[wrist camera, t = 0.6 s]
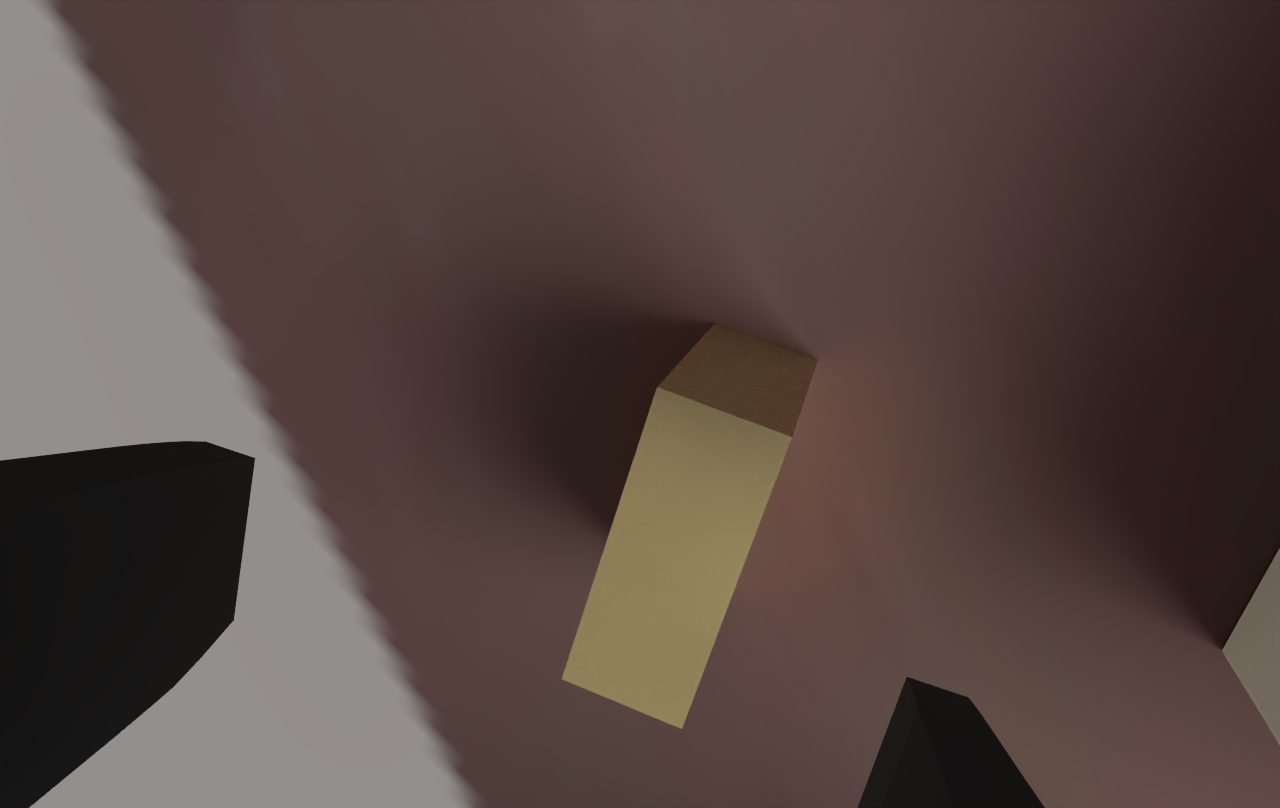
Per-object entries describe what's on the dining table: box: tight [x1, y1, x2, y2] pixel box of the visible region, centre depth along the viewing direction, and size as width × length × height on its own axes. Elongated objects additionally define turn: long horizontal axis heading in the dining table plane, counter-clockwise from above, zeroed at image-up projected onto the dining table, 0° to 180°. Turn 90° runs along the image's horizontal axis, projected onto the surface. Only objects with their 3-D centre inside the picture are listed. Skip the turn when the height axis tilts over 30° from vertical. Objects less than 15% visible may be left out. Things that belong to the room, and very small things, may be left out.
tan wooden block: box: [562, 323, 818, 729], centre depth 18 cm, size 5×2×5 cm, turn 162°
